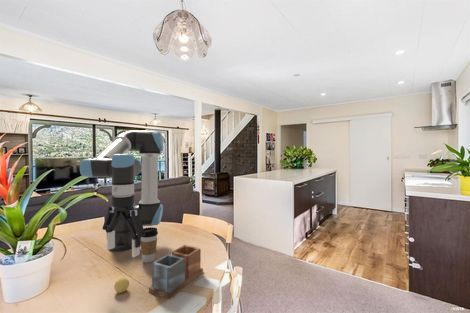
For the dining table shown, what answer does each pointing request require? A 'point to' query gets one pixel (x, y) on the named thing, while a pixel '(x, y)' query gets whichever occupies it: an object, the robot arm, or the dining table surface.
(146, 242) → the coffee cup
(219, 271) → the dining table surface
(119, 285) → the ochre ball
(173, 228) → the dining table surface
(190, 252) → the desk organizer
